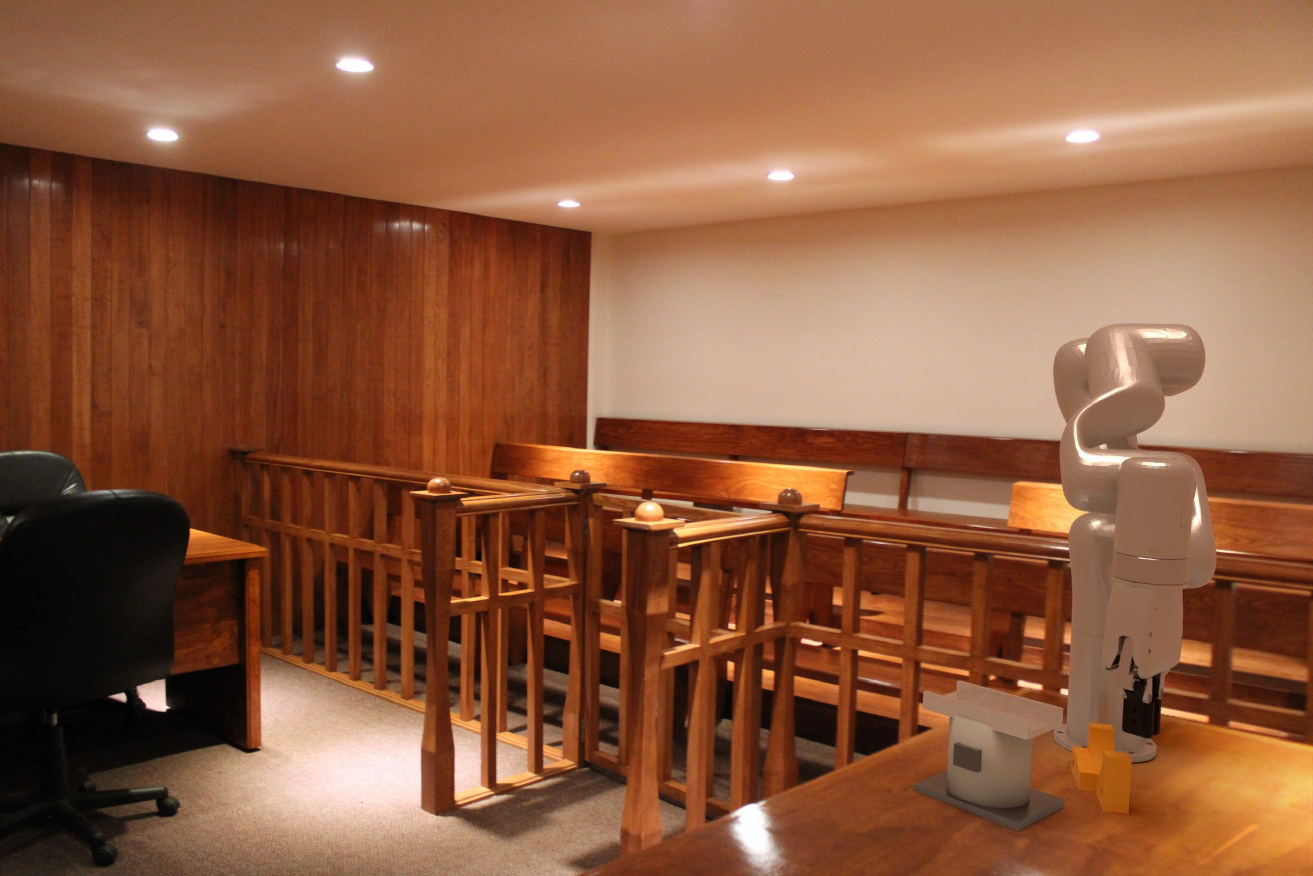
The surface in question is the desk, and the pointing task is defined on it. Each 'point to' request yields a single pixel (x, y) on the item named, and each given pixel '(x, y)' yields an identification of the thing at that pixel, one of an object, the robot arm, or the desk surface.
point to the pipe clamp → (1103, 769)
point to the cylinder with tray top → (992, 754)
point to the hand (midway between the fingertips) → (1140, 732)
